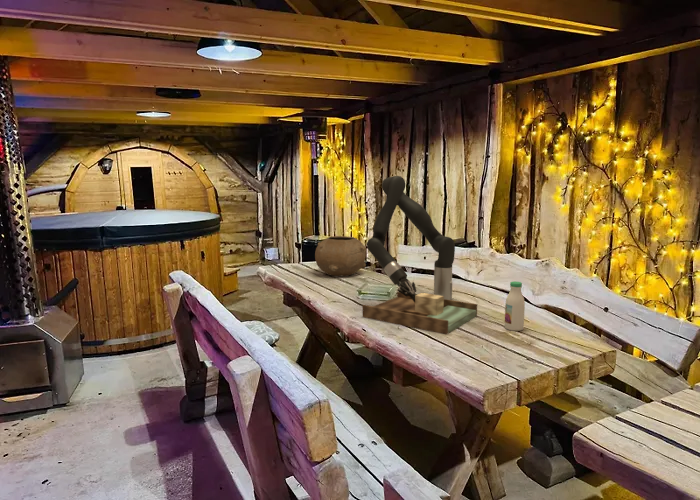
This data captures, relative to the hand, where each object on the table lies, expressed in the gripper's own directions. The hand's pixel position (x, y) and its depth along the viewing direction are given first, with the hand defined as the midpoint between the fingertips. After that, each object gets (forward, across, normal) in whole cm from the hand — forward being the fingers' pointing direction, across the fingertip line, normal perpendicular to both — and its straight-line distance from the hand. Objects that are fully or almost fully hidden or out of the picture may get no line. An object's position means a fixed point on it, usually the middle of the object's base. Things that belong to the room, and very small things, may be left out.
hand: (417, 301), depth 218 cm
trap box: (+6, 0, +4) cm, 7 cm away
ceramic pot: (-57, +55, +67) cm, 104 cm away
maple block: (+7, 0, -2) cm, 7 cm away
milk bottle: (+34, +8, -25) cm, 43 cm away
